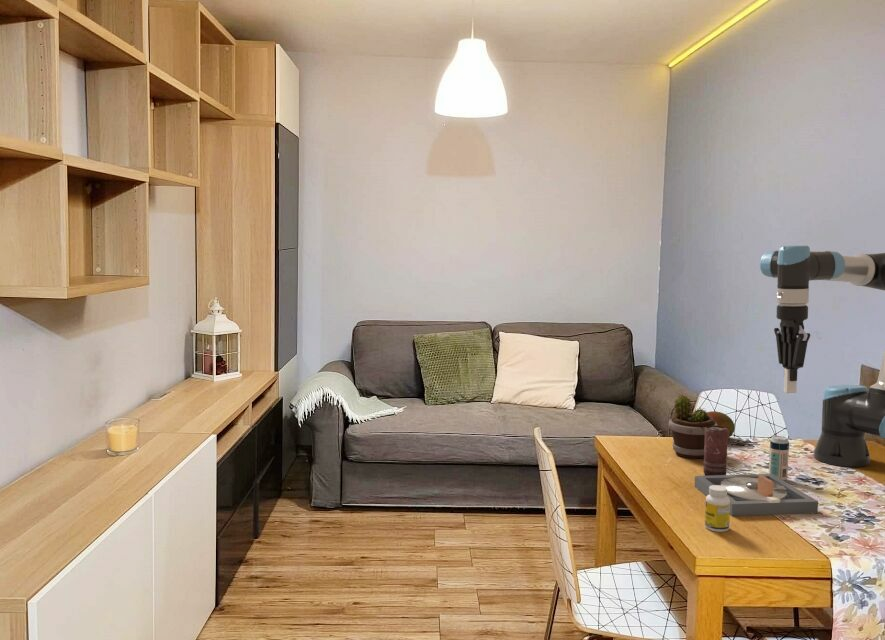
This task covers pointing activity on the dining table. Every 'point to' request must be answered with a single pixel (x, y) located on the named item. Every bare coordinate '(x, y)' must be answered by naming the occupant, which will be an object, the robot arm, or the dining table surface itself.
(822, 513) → the dining table surface
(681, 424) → the flowerpot
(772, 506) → the dial plate
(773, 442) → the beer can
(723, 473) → the can
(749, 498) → the dial
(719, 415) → the fruit
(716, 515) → the supplement bottle
